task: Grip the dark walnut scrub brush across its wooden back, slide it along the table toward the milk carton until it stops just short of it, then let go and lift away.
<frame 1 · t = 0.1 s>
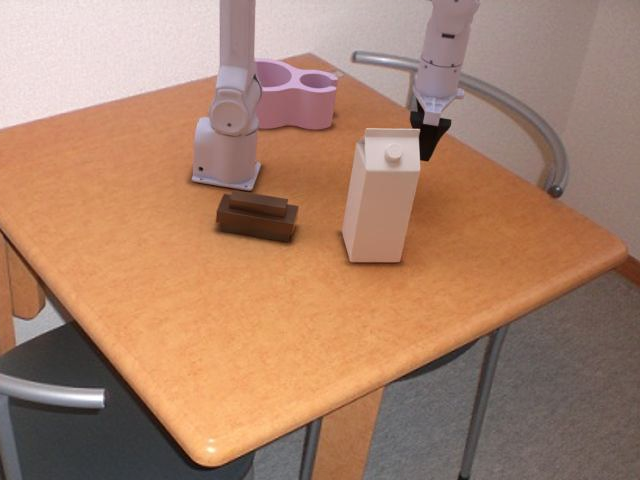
hand: (422, 146, 128), 10 cm above the table, tool pointing down, fingers open, 7 cm apart
brush: (256, 228, 127), on the table
clip: (275, 113, 154), on the table
milk carton: (369, 249, 126), on the table
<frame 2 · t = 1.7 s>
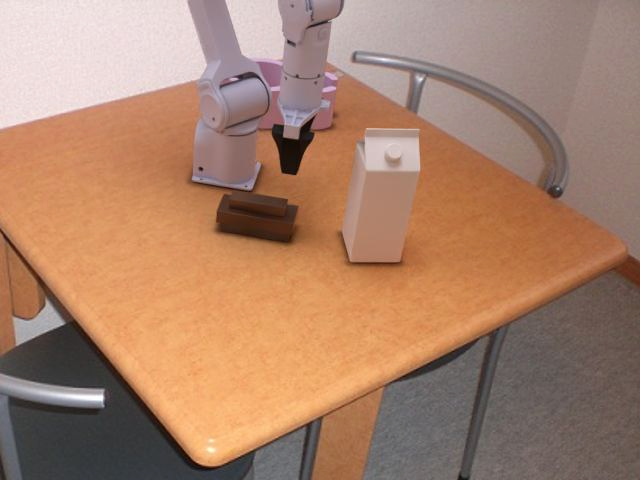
hand: (293, 159, 125), 9 cm above the table, tool pointing down, fingers open, 7 cm apart
nothing on the table moved.
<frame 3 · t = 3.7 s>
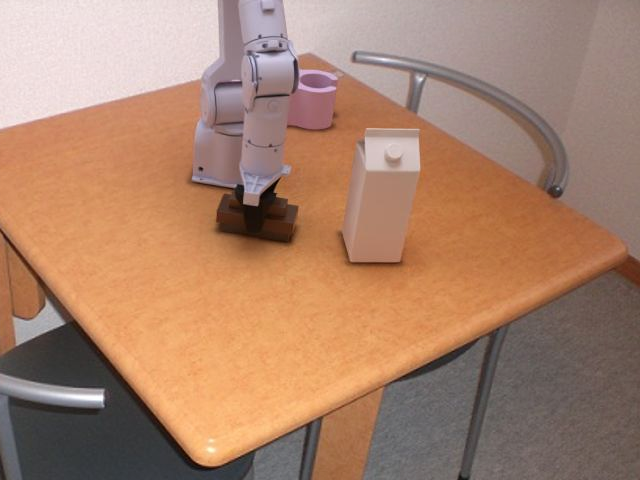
hand: (256, 220, 127), 1 cm above the table, tool pointing down, fingers closed on brush, 4 cm apart
brush: (256, 228, 127), on the table, touching gripper
everything else where it was.
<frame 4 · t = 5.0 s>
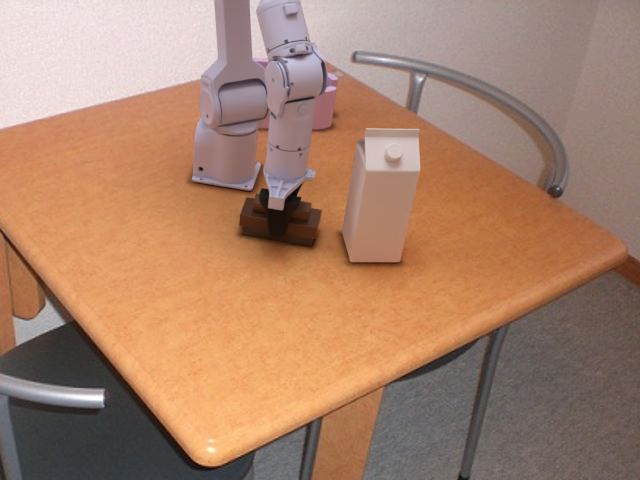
hand: (280, 224, 126), 1 cm above the table, tool pointing down, fingers closed on brush, 4 cm apart
brush: (279, 232, 127), on the table, touching gripper
everything else where it was.
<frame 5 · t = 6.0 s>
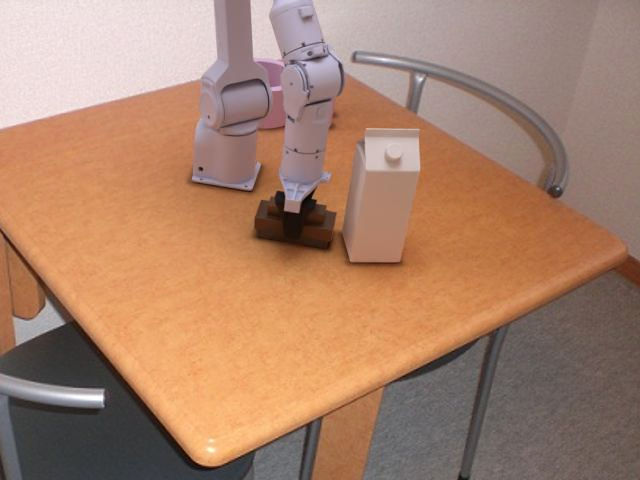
hand: (294, 226, 126), 1 cm above the table, tool pointing down, fingers closed on brush, 4 cm apart
brush: (293, 234, 127), on the table, touching gripper
everything else where it was.
when the fingers open (1 cm above the table, at t = 6.4 s): brush stays where it is, on the table.
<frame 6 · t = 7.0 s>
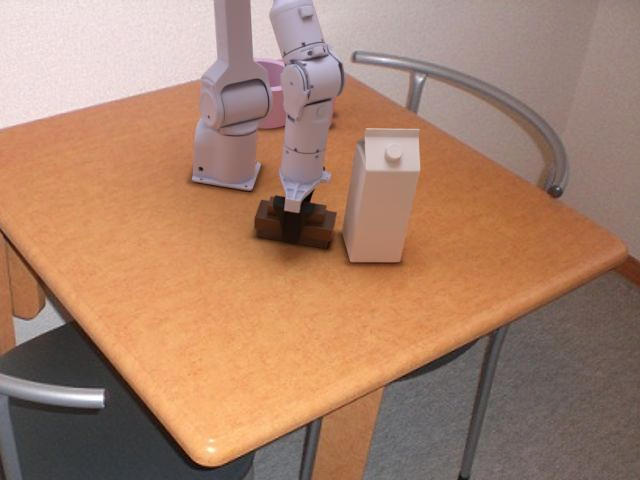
hand: (294, 226, 126), 1 cm above the table, tool pointing down, fingers open, 7 cm apart
brush: (293, 234, 127), on the table
everything else where it was.
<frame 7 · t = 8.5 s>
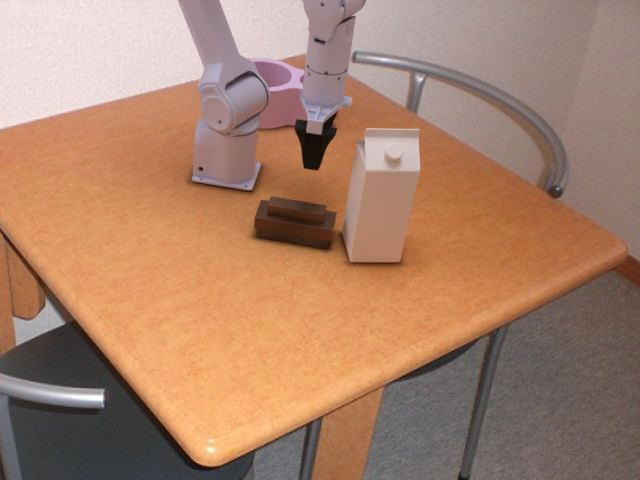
hand: (315, 154, 126), 9 cm above the table, tool pointing down, fingers open, 7 cm apart
nothing on the table moved.
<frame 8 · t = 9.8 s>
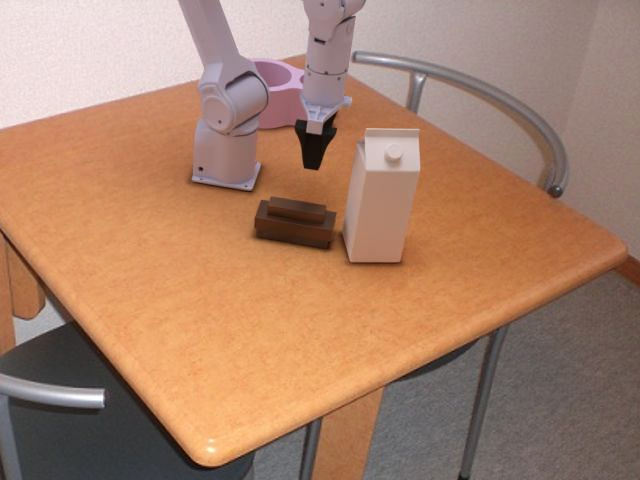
hand: (315, 154, 126), 9 cm above the table, tool pointing down, fingers open, 7 cm apart
nothing on the table moved.
at the end: brush 11.0 cm from the milk carton (horizontally); brush moved 5.5 cm from its start; milk carton tilted 0° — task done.
